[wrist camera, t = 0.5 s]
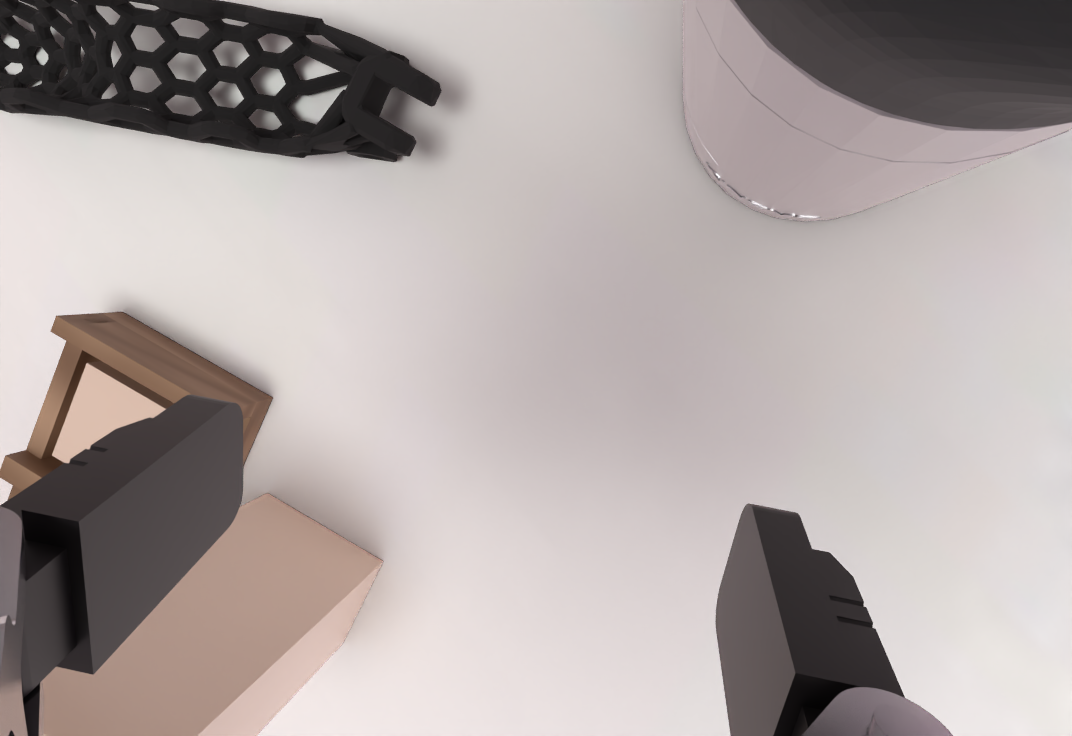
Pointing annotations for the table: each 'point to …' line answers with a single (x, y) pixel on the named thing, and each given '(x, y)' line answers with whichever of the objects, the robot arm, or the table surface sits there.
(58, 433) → the wooden open-ended tray
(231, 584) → the beige wooden block
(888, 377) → the table surface
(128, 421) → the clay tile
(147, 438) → the robot arm
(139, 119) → the decorative element
